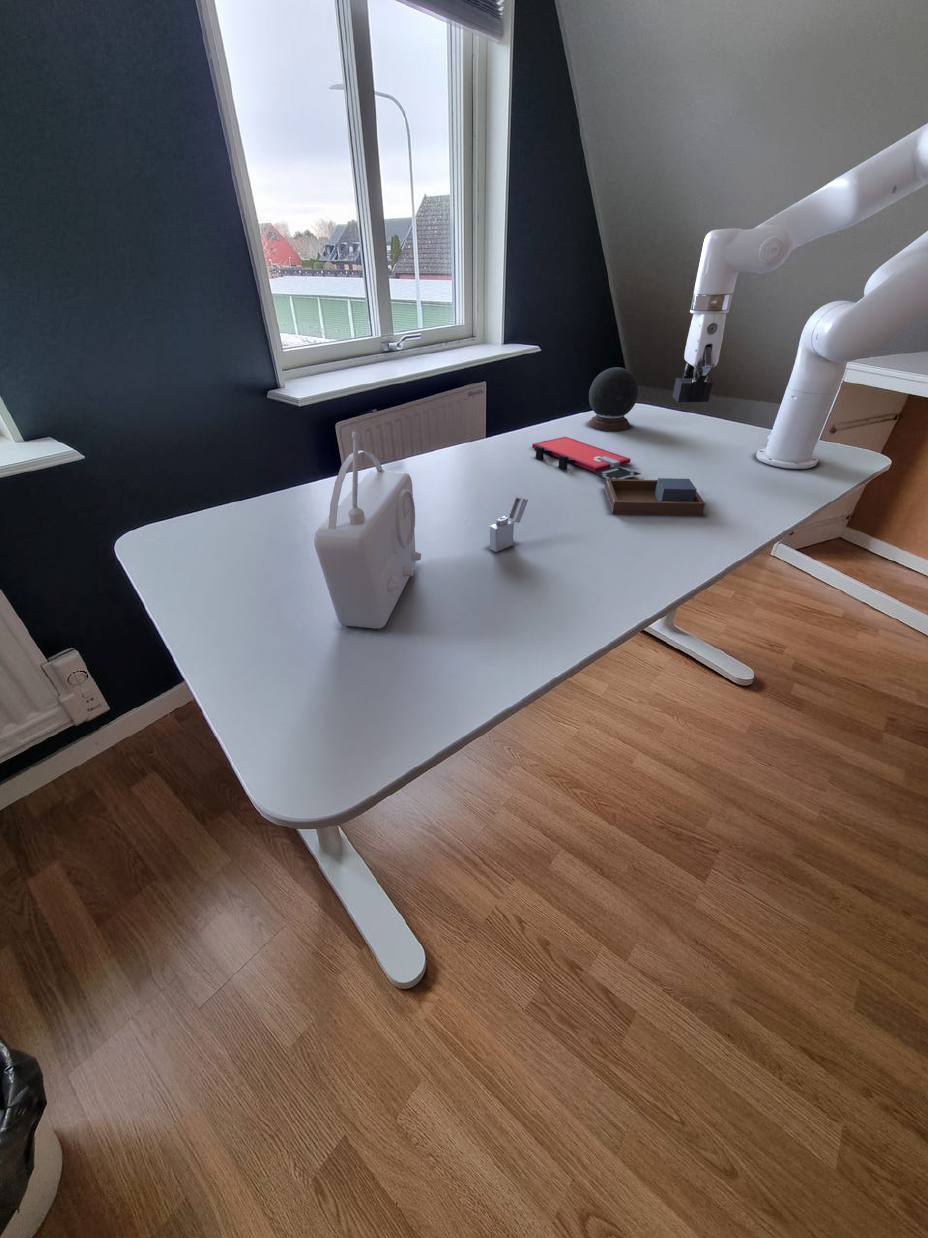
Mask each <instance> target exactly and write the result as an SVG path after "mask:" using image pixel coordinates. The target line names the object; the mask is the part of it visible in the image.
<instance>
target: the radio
mask: <svg viewBox="0 0 928 1238" xmlns="http://www.w3.org/2000/svg"><path fill="white" fill-rule="evenodd" d="M351 438H352V453H350V454H349V455H348V456H347V457H346V459H345V460H344V461H343V463H342V464H341V466H340V468H339V472H338V474H337V476H336V479H335V482H334V485H333V490H332V495H331V500H330V505H329V514H328V516H327V517H326V518H325V520H323V522H322V523H321V524H320V525H319V526H318V527H317V529H316V530H315V532H314V536H313V537H314V538H313V543H314V549H315V552H316V555H317V558H318V561H319V564H320V565H319V566H320V567H321V571H322V573H323V577H324V581H325V583H326V587H327V590H328V593H329V597H330V599H331V603H332V606H333V609H334V612H335V613H334V614H335V616H336V619H337V621H338V623H339V624H340V625H342V626H345V627H346V626H347V627H356V628H366V629H368V628H369V629H377V630H378V629H382V628H384V627H385V626H386V624H387V622H388V621H389V619H390V618H391V617H390V616H391V614H392V612H393V611H394V609H395V606H397V605H396V604H397V603H398V600H399V599H400V596H401V595H402V593H403V591H404V589H405V587H406V584H407V583H408V580H409V579H410V577H414V572H415V570H414V569H415V566H416V563H417V562H418V561H421V559H422V553H421V552H420V551H416V535H415V526H416V508H415V507H416V506H415V499H414V493H413V492H414V490H413V481H412V477H411V475H410V474H409V473H408V472H406V471H393V470H384V468H383V466H382V464H381V462H380V460H379V459H378V458H377V457H376V455H375V454H374V453H373V452H371V451H366V450H359V441H360V438H361V432H359V431H352V432H351ZM361 454H365V455H366V456H367V457H368V458H369V459H370V460H371V461H372V463H373V466H374V467H375V470H370V471H368V472H367V473H366V474H365V475H364V476H363V477H362V478H361V480H360V481H359V476H358V475H359V456H360V455H361ZM351 464H352V483H351V484H352V487H351V489H352V490H351V491H350V492H349V493H348V494H347V495H346V496H345V498H343V499H342V501H340V496H341V491H342V487H343V483H344V480H345V478H346V476H347V472H348V470H349V467H350V466H351Z"/></svg>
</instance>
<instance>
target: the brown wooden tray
mask: <svg viewBox="0 0 928 1238" xmlns="http://www.w3.org/2000/svg"><path fill="white" fill-rule="evenodd" d="M657 481H658V479H629V478H625V479H607V478H605V485H604V493H605V496H606V499H607V502H608V505H609V508H610V512H611V514H612V515H642V516H643V515H645V516H647V515H649V516H685V517H687V516H689V517H690V516H693V517H694V516H695V517H702V516H703V512H704V510H705V505H706V503H705V501H704V499H703V498H702V496H701V495H700V494H699V492H698V491H697V490H696V494H695V498H694V501H693V502H677V501H657V499H656V497H655V495H654V494H655V490H656V485H657Z"/></svg>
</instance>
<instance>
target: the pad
mask: <svg viewBox="0 0 928 1238" xmlns="http://www.w3.org/2000/svg"><path fill="white" fill-rule="evenodd" d="M657 480H658V481H657V485H656V490H655V494H654V495H655V497H656V499H657V501H677V502H693V501H694V498H695V494H696V491H697V490H698V489H697V488H696V486H695V485H694V483H693V482H692V481H691V479H690V478H672V477H671V478H670V477H669V478H664V477H662V478H661V477H658V478H657Z"/></svg>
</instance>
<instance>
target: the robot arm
mask: <svg viewBox="0 0 928 1238" xmlns="http://www.w3.org/2000/svg"><path fill="white" fill-rule="evenodd" d="M927 185H928V122H927V123H925V124H923V125H922V126H921V127H919V128H917V129H916V130H914V131H912V132H910V133H909V134H907V135H905V136H904V137H903V138H901V139H899V140H898V141H896V142H894V143H892V144H891V145H889V146H888V147H886V148H884V149H882V150H881V151H879V152H878V153H876V154H874V155H873V156H871V157H870V158H867V159H866V160H865V161H862V162H861V163H860V164H858V165H856V166H855V167H853V168H851V169H849V170H848V171H846V172H844V173H842V175H839V176H838V177H835V178H834V179H833V180H831V181H829V182H828V183H826V184H825V185H823V186H822V187H821V188H819V189H818V190H815V191H814V192H813V193H810V194H809V195H807V196H805V197H804V198H802V199H800V200H799V201H797V202H795V203H793V204H791V205H790V206H788V207H787V208H785V209H783V210H781V211H780V212H779V213H777V214H775V215H773V216H771V217H770V218H768V219H767V220H765V221H764V222H762V223H760V224H759V225H757V226H756V227H754V228H749V229H744V228H739V227H737V228H736V227H735V228H717V229H713V230H710V231H708V233H707V234H706V235H705V237H704V239H703V244H702V249H701V253H700V258H699V264H698V268H697V274H696V279H695V284H694V289H693V296H692V300H691V303H690V304H691V305H690V308H689V313H690V314H692V318H691V321H690V322H691V323H690V326H689V331H688V335H687V339H686V344H685V349H684V354H683V357H684V361H685V367H684V371H683V376H682V378H693V380H692V382H690V386H689V391H688V395H687V401H702V398H703V394H704V390H705V385H706V381H707V379H708V377H709V376H708V375H709V374H710V371H711V369H712V368H715V367H716V366H717V365H718V363H719V360H720V359H719V358H720V354H721V349H722V345H723V339H724V333H725V326H726V320H727V314H728V313H730V308H731V304H732V300H733V295H734V293H735V292H734V291H735V287H736V283H737V279H738V275H739V273H741V272H742V273H751V274H758V275H763V274H768V273H771V272H773V271H775V270H777V269H778V268H780V267H781V266H782V265H783V264H784V263H785V262H786V260H787V259H788V258H789V256H790V254H791V252H792V251H794V250H795V249H797V248H799V247H801V246H804V245H805V244H808V243H810V242H811V241H812V242H813V241H814V240H816V239H818V238H821V237H824V236H827V235H829V234H834V233H837V232H839V231H842V230H846V229H848V228H850V227H852V226H855V225H857V224H859V223H861V222H862V221H865V220H866V219H868V218H870V217H871V216H874V215H875V214H877V213H879V212H880V211H882V210H883V209H886V208H887V207H889V206H891V205H893V204H894V203H896V202H898V201H900V200H901V199H904V198H905V197H907V196H909V195H911V194H913V193H915V192H917V191H918V190H920V189H922V188H923V187H925V186H927ZM926 314H928V230H927V231H925V232H924V233H923V234H921V235H920V236H919V237H918V238H916V239H915V240H914V241H913V242H911V243H910V244H908V245H907V246H906V247H904V248H903V249H901V250H900V251H899V252H898V253H897V254H895V255H893V257H891V258H889V259H888V260H887V261H886V262H884V263H883V264H881V265H880V266H879V267H878V268H877V269H876V270H875V271H874V272H873V273H872V274H871V275H870V276H869V279H868V280H867V282H866V283H865V286H864V290H863V297H861V298H860V299H859V300H858V301H856V302H855V301H851V300H834V301H831V302H828V303H826V304H823V305H821V306H820V307H819V308H818V309H816V310H815V312H813V313H812V315H810V316H809V318H808V320H807V321H806V323H805V325H804V327H803V329H802V332H801V334H800V338H799V343H798V348H797V352H796V356H795V361H794V364H793V368H792V370H791V373H790V376H789V380H788V382H787V385H786V388H785V392H784V394H783V397H782V399H781V400H782V401H781V403H780V406H779V409H778V412H777V415H776V417H775V421H774V423H773V427H772V429H771V432H770V434H769V435H767V440H768V441H767V444H766V447H762V448H760V449H758V450H757V451H756V454H755V457H756V459H757V460H758V461H760V463H761V462H762V463H764V464H766V465H769V466H773V467H777V468H782V469H790V470H805V469H810V468H813V467H816V466H817V464H818V462H819V458H818V457H817V455H815V454H813V453H814V451H815V449H816V446H817V445H818V444H817V443H818V442H819V439H820V436H821V434H822V431H823V429H824V426H825V424H826V421H827V419H828V416H829V414H830V411H831V408H832V406H833V404H834V401H835V399H836V397H837V394H838V392H839V389H840V386H841V384H842V382H843V380H844V379H843V378H844V376H845V373H846V369H847V366H848V363H850V362H853V361H856V360H858V359H860V358H863V357H864V356H866V355H868V354H869V353H871V352H873V351H874V350H876V349H877V348H879V347H880V346H882V345H883V344H885V343H886V342H888V341H889V340H890V339H892V338H894V337H895V336H896V335H898V334H899V333H901V332H902V331H904V330H905V329H907V328H908V327H909V326H911V325H912V324H914V323H915V322H916V321H918V320H920V319H921V318H922V317H924V316H925V315H926Z"/></svg>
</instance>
